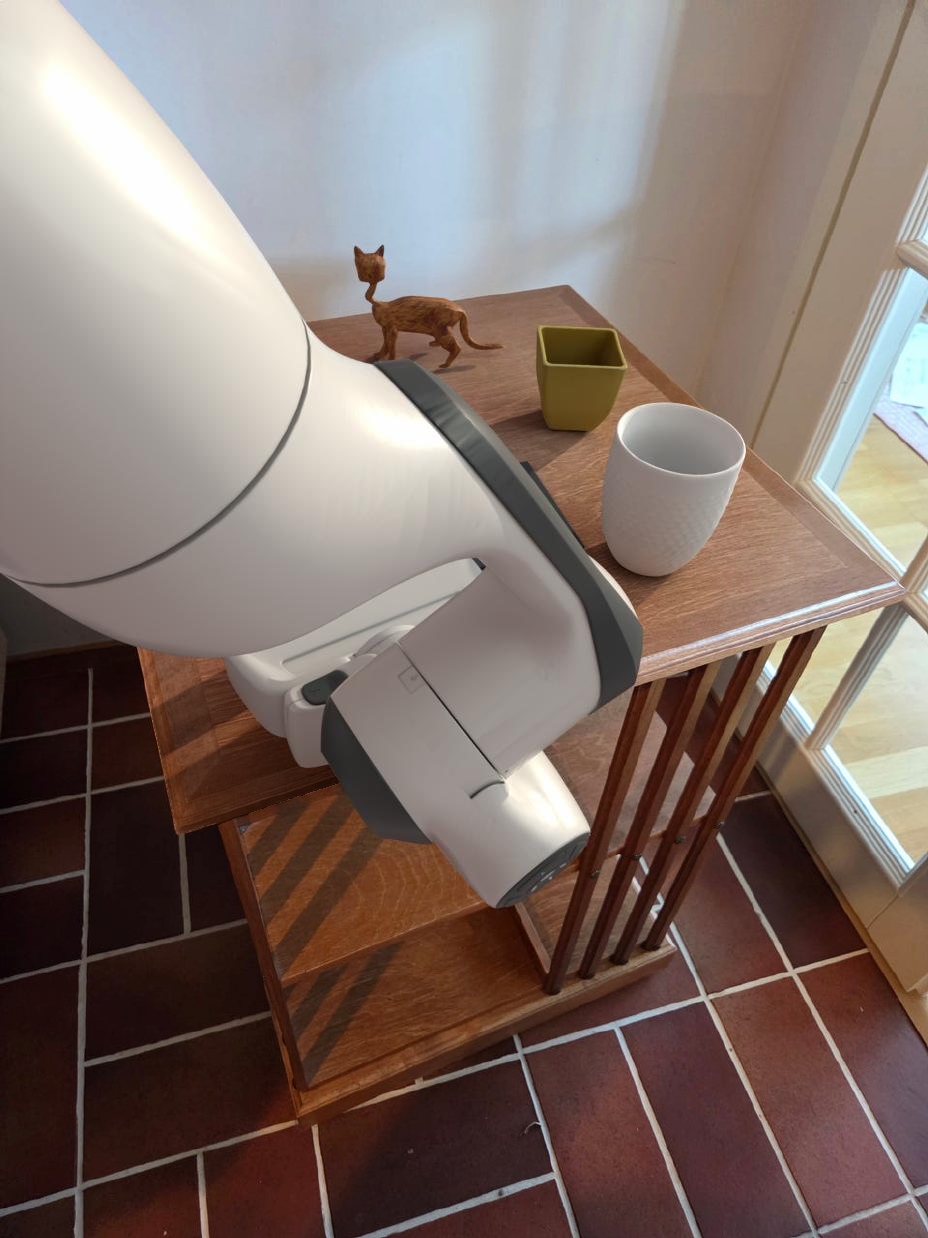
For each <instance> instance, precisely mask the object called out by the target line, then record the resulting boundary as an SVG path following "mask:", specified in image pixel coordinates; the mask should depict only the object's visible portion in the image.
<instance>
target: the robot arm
mask: <svg viewBox="0 0 928 1238" xmlns="http://www.w3.org/2000/svg"><path fill="white" fill-rule="evenodd" d="M290 297H291V296H289V294H288V292H287V290H286V288H284V286H283V284H282V282H281V281H280V280H279V278H278V276H277V274H276V273H275V271H274V270H273V269H272V267H271V265H270V263H269V262H268V260H267V259H266V257H265V256H264V255H263V253H262V251H261V250H260V249H259V247H258V246H257V244H256V243H255V241H254V240H253V238H252V236H251V235H250V234H249V233H248V231H247V230H246V228H245V227H244V226H243V224H242V222H241V221H240V220H239V218H238V217H237V215H236V214H235V212H234V211H233V210H232V208H231V206H230V205H229V204H228V202H227V201H226V200H225V198H224V197H223V195H222V194H221V193H220V191H219V190H218V188H216V186H215V185H214V183H213V182H212V181H211V179H210V178H209V177H208V176H207V174H206V173H205V172H204V170H203V169H202V167H200V165H199V164H198V163H197V161H196V160H195V159H194V158H193V156H192V155H191V153H190V152H189V151H188V149H187V148H186V147H185V146H184V144H183V143H182V141H181V140H180V139H179V137H177V136H176V134H175V133H174V132H173V130H172V129H171V128H170V127H169V125H168V124H167V123H166V122H165V120H164V119H162V117H161V116H160V114H158V112H157V111H156V110H155V108H154V107H152V105H151V104H150V102H149V101H147V99H146V97H144V95H143V94H142V93H141V92H140V91H139V89H138V88H137V87H136V86H135V85H134V83H133V82H132V81H131V80H130V79H129V77H128V76H127V75H126V73H124V72H123V71H122V69H121V68H120V67H119V66H118V65H117V64H116V63H115V62H114V60H113V59H112V58H111V57H110V56H109V55H108V53H106V51H105V50H103V48H102V47H101V46H100V45H99V44H98V43H97V42H96V40H94V38H93V37H92V36H91V35H90V34H89V32H87V31H86V30H85V29H84V27H83V26H82V25H81V24H80V23H79V22H78V21H77V20H76V18H75V17H74V16H73V15H72V14H71V13H70V12H69V11H68V9H67V8H66V7H65V6H64V5H63V4H62V3H61V2H60V1H59V0H0V574H1V575H3V576H4V577H6V578H7V579H9V580H10V581H12V582H13V583H15V584H16V585H18V586H20V587H21V588H22V589H24V590H26V591H27V592H28V593H30V594H31V595H33V596H35V597H36V598H38V599H39V600H41V601H42V602H44V603H46V604H47V605H48V606H50V607H52V608H54V609H56V610H57V611H59V612H60V613H62V614H64V615H66V616H67V617H69V618H71V619H73V620H75V621H76V622H78V623H80V624H81V625H83V626H86V627H88V628H89V629H90V630H94V631H95V632H97V633H99V634H102V635H104V636H106V637H108V638H110V639H113V640H116V641H117V642H118V641H119V642H121V643H123V644H127V645H129V646H132V647H136V648H138V649H139V648H140V649H143V650H146V651H147V650H148V651H152V652H155V653H159V654H164V655H169V656H175V657H183V658H193V659H219V658H223V663H224V666H225V670H226V674H227V677H228V681H229V682H230V684H231V686H232V688H233V689H234V691H235V692H236V694H237V696H238V697H239V699H240V700H241V701H242V703H243V705H245V707H246V708H247V709H248V711H249V712H250V713H251V715H252V716H253V717H254V718H255V720H257V722H258V723H259V725H261V726H262V727H263V728H264V729H265V730H266V731H267V732H269V733H270V734H272V735H274V736H276V737H280V738H284V739H286V740H287V743H288V744H287V745H288V747H289V749H290V752H291V754H292V757H293V759H294V760H295V762H296V763H297V765H298V766H299V767H301V768H306V769H309V768H317V767H322V766H328V765H329V767H330V768H331V770H332V772H333V774H334V775H335V777H336V779H337V780H338V782H339V783H340V784H339V785H341V787H342V789H343V791H344V792H345V794H346V795H347V797H348V800H349V801H350V802H351V804H352V806H353V807H354V809H355V811H356V812H357V814H358V815H359V817H360V818H361V820H362V822H363V823H364V824H365V826H367V827H368V829H369V830H370V831H371V832H373V833H374V834H375V835H377V836H378V837H380V838H382V839H384V840H385V839H386V840H391V841H398V842H404V843H409V844H415V845H416V844H417V845H427V846H429V845H433V843H434V844H435V846H436V847H437V848H438V849H439V851H440V852H441V854H443V856H444V857H445V858H446V860H447V861H448V862H449V864H450V865H451V866H452V868H454V869H455V871H457V873H458V874H459V875H460V876H461V877H462V879H463V880H464V881H465V882H466V884H468V886H470V888H471V890H473V891H474V892H475V893H476V894H477V895H478V897H480V898H481V900H482V901H483V902H484V903H486V904H487V905H488V906H489V907H491V908H493V909H501V908H509V907H512V906H515V905H518V904H520V903H521V902H523V901H526V900H527V899H528V898H529V897H530V896H532V895H533V894H536V893H538V891H540V890H541V889H542V888H543V887H545V886H546V885H547V884H548V883H550V881H552V880H553V879H555V878H556V877H557V876H558V875H559V874H561V873H562V872H563V871H564V870H566V869H567V868H568V867H569V866H570V865H571V863H572V862H573V861H575V860H576V859H577V858H578V857H579V856H580V855H581V853H582V851H583V850H584V849H585V847H586V845H587V842H588V839H589V838H590V835H591V827H590V825H589V823H588V820H587V818H586V816H585V815H584V813H583V811H582V809H581V808H580V805H579V804H578V803H577V800H576V799H575V797H574V795H573V794H572V793H571V791H570V789H569V788H568V786H567V785H566V783H565V781H564V779H563V778H562V776H561V775H560V774H559V772H558V771H557V769H556V768H555V766H554V765H553V763H552V761H551V760H550V759H549V757H548V756H547V755H546V753H545V752H544V750H545V749H546V748H547V747H549V746H550V745H552V744H553V743H554V742H555V741H556V740H558V739H559V738H560V737H562V736H563V735H564V734H565V733H567V732H568V731H569V730H570V729H571V728H573V727H574V726H575V725H576V724H578V723H579V722H581V721H582V720H583V719H584V718H585V717H587V716H591V715H592V714H594V713H595V712H597V711H598V710H600V709H601V708H603V707H605V706H606V705H607V704H609V703H611V702H612V701H613V700H615V699H616V698H617V697H619V696H620V695H622V694H624V693H625V692H627V691H628V690H630V689H632V688H633V687H634V686H635V684H636V683H637V678H638V675H639V671H640V666H641V660H642V656H643V647H644V628H643V626H642V624H641V622H640V620H639V617H638V615H637V613H636V610H635V608H634V606H633V604H632V602H631V600H630V598H629V597H628V595H627V594H626V593H625V591H624V589H623V588H622V586H621V585H620V584H619V583H618V581H616V579H615V578H614V577H613V576H612V575H611V574H610V573H609V571H607V570H606V569H605V567H603V566H602V565H601V564H600V563H599V562H598V561H596V560H595V559H594V558H593V557H592V556H590V555H589V554H588V553H587V552H586V551H585V548H584V549H583V548H582V546H581V545H580V544H579V542H578V541H577V540H576V538H575V537H574V535H573V534H572V533H571V531H570V530H569V529H568V527H567V526H566V524H565V523H564V522H563V520H562V519H561V517H560V516H559V515H558V513H557V512H556V511H555V509H554V508H553V506H552V505H551V504H550V502H549V501H548V500H547V498H546V497H545V495H544V494H543V493H542V491H541V490H540V489H539V487H538V486H537V485H536V483H535V482H534V481H533V480H532V478H531V477H530V476H529V474H528V473H527V472H526V471H525V469H524V468H523V467H522V465H521V464H520V463H519V462H520V461H519V460H518V459H517V458H516V457H515V455H514V453H512V452H511V450H510V449H509V448H508V447H507V445H506V444H505V442H503V440H502V439H501V438H500V437H499V435H498V434H497V433H496V432H495V431H494V429H493V428H492V427H491V426H490V425H489V424H488V423H487V422H486V420H484V418H483V417H482V416H481V415H480V414H479V413H478V411H476V410H475V409H474V408H473V407H472V406H471V405H470V403H468V402H467V401H466V400H465V399H464V398H463V397H462V396H461V395H460V394H459V393H458V392H457V391H456V390H455V389H453V387H451V386H450V385H448V383H446V382H445V380H443V379H441V378H440V377H439V376H438V375H436V374H435V373H433V372H432V371H430V370H429V369H428V368H426V367H425V366H423V365H422V364H419V363H418V362H416V361H414V360H412V359H410V358H402V359H396V360H389V361H387V360H381V361H373V364H372V363H367V362H364V361H360V360H357V359H354V358H351V357H348V356H346V355H343V354H341V353H340V352H337V351H336V350H334V349H332V348H330V347H329V346H327V344H325V343H324V342H323V341H321V340H320V339H319V338H318V336H317V335H316V334H315V333H314V332H313V330H311V328H310V327H309V326H308V324H307V322H306V320H305V319H304V318H303V316H302V314H301V313H300V312H299V310H298V308H297V307H296V304H295V303H294V302H293V300H292V298H290ZM472 558H478V559H479V560H480V561H481V562H482V563H483V564H484V565H485V566H486V567H485V569H484V570H483V571H482V570H481V569H480V568H479V566H478V565H477V564H476V563H475V562H474V560H473V559H472Z"/></svg>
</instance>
